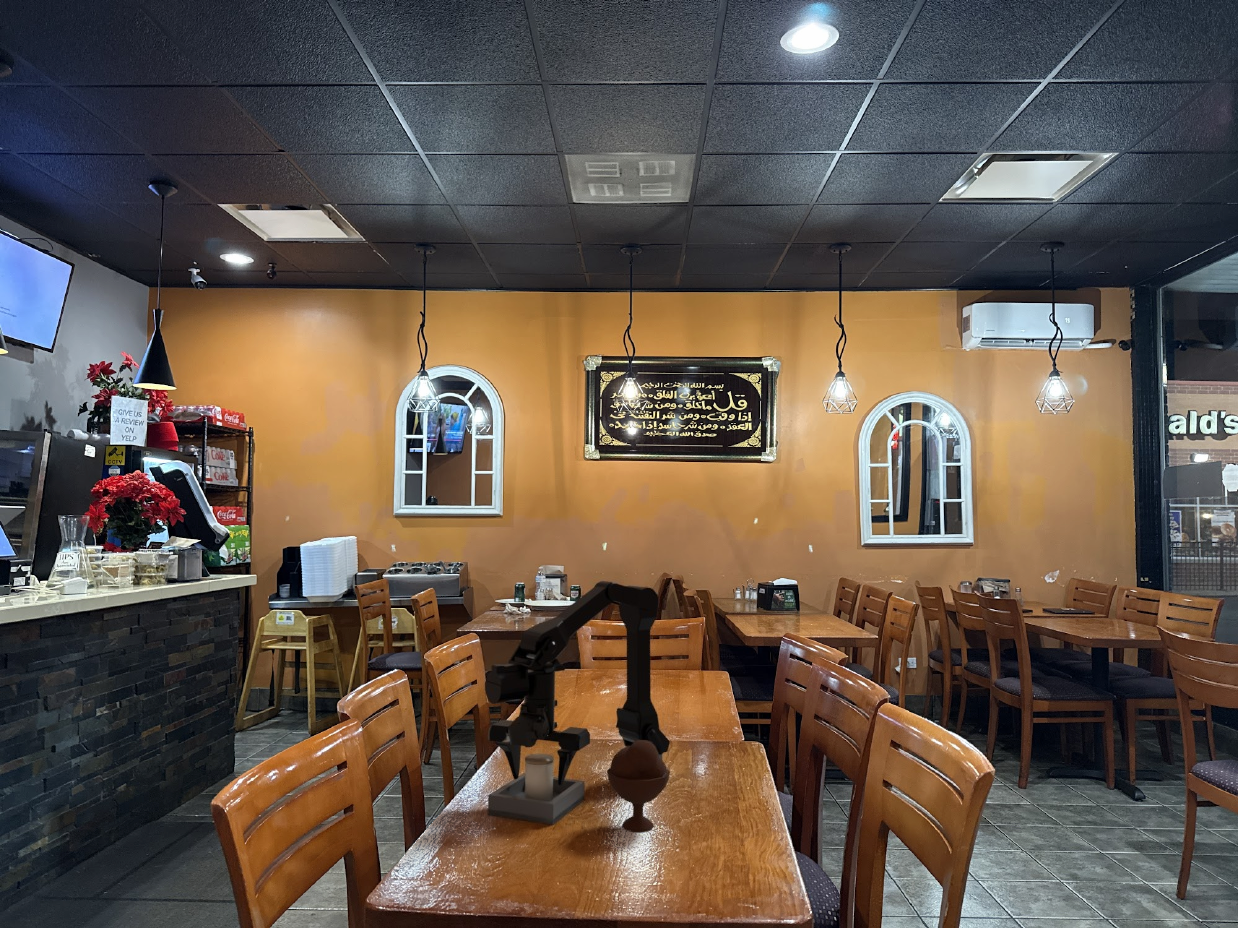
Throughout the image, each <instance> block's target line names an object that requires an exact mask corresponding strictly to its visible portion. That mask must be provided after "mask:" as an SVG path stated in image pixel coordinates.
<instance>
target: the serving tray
mask: <svg viewBox="0 0 1238 928" xmlns="http://www.w3.org/2000/svg"><path fill="white" fill-rule="evenodd" d="M585 783H586V781H584V780H581V779H580V780H579V779H573V778H565V779H564V782H563V784H562V785H559V784H558V776H553V800H551V801H545V800H538V799H531V798H525V772H523V773H522V774H519V777H518V779H514V778H513V779H512V780H510V781H508V782H507V783H505V784H504V785H502V786H500V787H499V788H497V789H496V790H494V791H492V792H491V793H489V794H488V796H487V797H488V801H487V803H488V805H487V815H489V816H494V817H500V818H506V819H507V818H508V819H513V820H519V821H520V820H521V821H525V822H531V823H532V822H533V823H539V824H544V825H551V826H554V825H555V824H556V823H558V822H559V821H560V820H561V819H563V817H565V816H566V815H567V814H568V813H570V812H571V811H572V810H574V809H575V808H577V806H579V804H581V803H583V802H584V801H585V788H586V787H585Z"/></svg>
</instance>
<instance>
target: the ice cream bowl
mask: <svg viewBox="0 0 1238 928" xmlns="http://www.w3.org/2000/svg"><path fill="white" fill-rule="evenodd" d="M606 772H607V773H606V774H607V779H608V782H609V784H610V786H611V788H612V789H613V790H614V791H615V792H616V794H618V796H619V797H620V798H621V799H623V800H624V801H625V802H629V803H631V804H632V808H633V810H632V811H633V812H632V816H630V817H629V818H627V819H625V820H624V821H623V822H622V825H621V826H622V828H623V830H625V831H628V832H632V833H645V832H649V831H651V830H652V829H654V827H655V826H654V823H653V821H652V820H650V819H649V818H647V817H645V816H644V806H645V804H646V803H649V802H651V801H653V800H655V799H656V798H657V797H658V796H659V795H660V793H662V792H663V790H664V789H666V787H667V784H668V782H669V779H670V774H671V771H670V770H669V769H668V767H667V766H666V764H665V762H664V760H663V759H662V760H661V759H660V758H659V754H658V751H657V749H656V747H655V746H654V745H653V744H652V742H650V741H647V740H637V741H635V742H634V743H633V744H632V745H631V746H628V747H626V746H624V747H623V748H620V749H619V750H618V751H617V752H616V753H615V754H614V756H613V757H612V759H611V762H610V767H609V769H606ZM652 831H653V830H652Z"/></svg>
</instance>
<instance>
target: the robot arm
mask: <svg viewBox="0 0 1238 928" xmlns="http://www.w3.org/2000/svg"><path fill="white" fill-rule="evenodd" d="M610 605H616V606H618V612H619V616H620V619H621V621H622V623H623V625H624V627H625V629H626V700H625V702H624V703H623V706H622V707H617V708H616V723H615V728H616V729H617V730H618V735H619V736H620V737H621V738H622V741H623V745H624V747H628V746H631V745H632V744H633V743H634V742H635V741H637V740H647V741H650V742H652V744H653V745H654V746H655V747H656V749H657V751H658V754H659V758H660V759H661V760H663V754H664V753H668V751H669V747H670V743H671V741H670V740H669V739H668V738H667V737H666V735H665V734H664V733H663V732H662V730H661V729H660V722H659V715H658V712H657V710H656V708H655V705H654V704H653V701H652V698H651V697H652V696H651V695H652V694H651V691H652V689H651V685H652V683H651V682H652V681H651V680H652V679H651V629H652V627H653V625H654V623H656V620H657V618H658V611H659V605H660V599H659V594H658V593H657V591H656V590H655V589H653V588H652V587H646V586H636V585H627V586H626V585H623V584H619V583H617V582H615V581H608V580H607V581H606V580H601V581H598V582H597V583H595V585H594V586H593V588H591V589H590V590H588V591H587V592H585V594H583V595H582V596H581V597H580V598H578V599H577V600H576V601H575V602H573V603H572V604H570V605H569V606H568V607H567V608H566V609H564V610H563V611H562V612H561V613H559V614H558V615H556V616H555V617H553V618H550V619H547V620H545V621H541V622H539V623H537V624H535V625H533V626H531V627H529V628H527V629H526V630H525V631H524V632H523V633H522V634H521V636H520V642H519V644H518V645H517V647H516V649H515V650H514V652H513V654H512V655H511V657H510V659H509V660H508V663H505V664H499V663H497V664H496V663H495V664H491V671H490V672H489V673H488V674H487V677H486V679H485V681H484V691H485V692H484V693H485V695H486V698H487V700H488V701H489V703H490V704H494V705H495V704H502V703H507V702H514V701H515V702H516V701H522V700H523V699H524V700H523V701H524V702H522V703H521V704H520V707H519V709H520V710H519V714H518V716H516V717H515V719H514V720H509V719H502V720H499V721H497V722H495V723H493V724H491V725H490V726H489V729H488V733H487V736H488V737H487V739H488V741H489V742H493V743H494V744H493V745H495V746H496V747H498V748H500V749H501V750H502V751H503V752H504V754H505V755H504V756H505V757H506V759H507V761H508V765H509V768H510V771H511V774H512V777H513V780H514V779H518V777H519V776H520V769H521V752H522V751H521V750H522V746H523V747H525V748H532V747H535V745H536V744H537V742H538V741H539V740H540V741H546V742H547V741H548V742H555V743H558V746H559V748H558V749H557V751H556V753H557V755H558V759H559V760H558V770H557V771H558V772H557V774H558V775H557V777H558V784H559V785H562V784H563V782H564V779H566V776H567V774H568V772H569V769H570V766H571V764H572V761H573V760H574V758H575V756H576V754H577V752H579V751H581V750H582V749H584V748H585V747H587V746H588V745H590V744H591V734H590V731H589V730H588V729H587V728H585V727H576V726H569V727H568V728H566V729H564V730H562V731H559V730H555V729H557V728H558V721H555V707H557V706H558V699H556V698H555V697H556V672H563V671H566V667H565V666H564V665H563V664H562V663H560V661H559V660H558V657H559V656H560V655H561V653H562V652H563V651H564V650H565V649H566V648H567V646H568V644H569V641H570V639H571V638H572V636H573V635H575V633H576V632H578V631H579V630H580V629H582V628H583V627H584V626H585V625H586V624H588V623H589V622H590V621H591V620H593V619H594V618H595V617H596V616H597V615H599V614H601V612H602V611H604V610H605V609H606V608H608V607H609V606H610Z"/></svg>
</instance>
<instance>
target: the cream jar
mask: <svg viewBox="0 0 1238 928" xmlns="http://www.w3.org/2000/svg"><path fill="white" fill-rule="evenodd" d="M554 761H555V757H554V756H553V755H552V754H549V753H533V754H529V755H526V756H525V757H524V762H525V771H524V773H525V798H531V799H538V800H545V801H551V800H553V777H554Z"/></svg>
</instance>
